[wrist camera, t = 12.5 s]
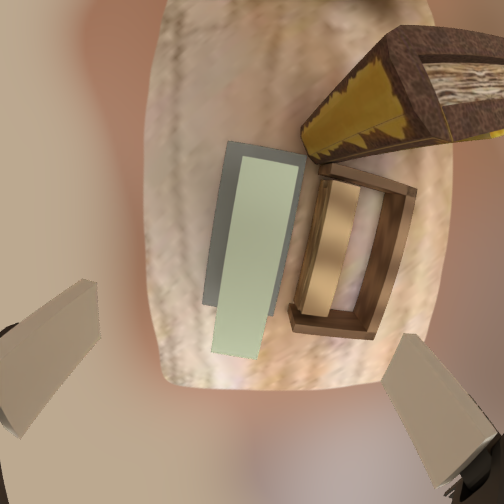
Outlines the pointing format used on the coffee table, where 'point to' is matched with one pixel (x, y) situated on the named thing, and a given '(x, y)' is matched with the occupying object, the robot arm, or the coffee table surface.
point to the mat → (226, 209)
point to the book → (412, 95)
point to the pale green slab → (252, 255)
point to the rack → (379, 266)
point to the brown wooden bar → (326, 247)
